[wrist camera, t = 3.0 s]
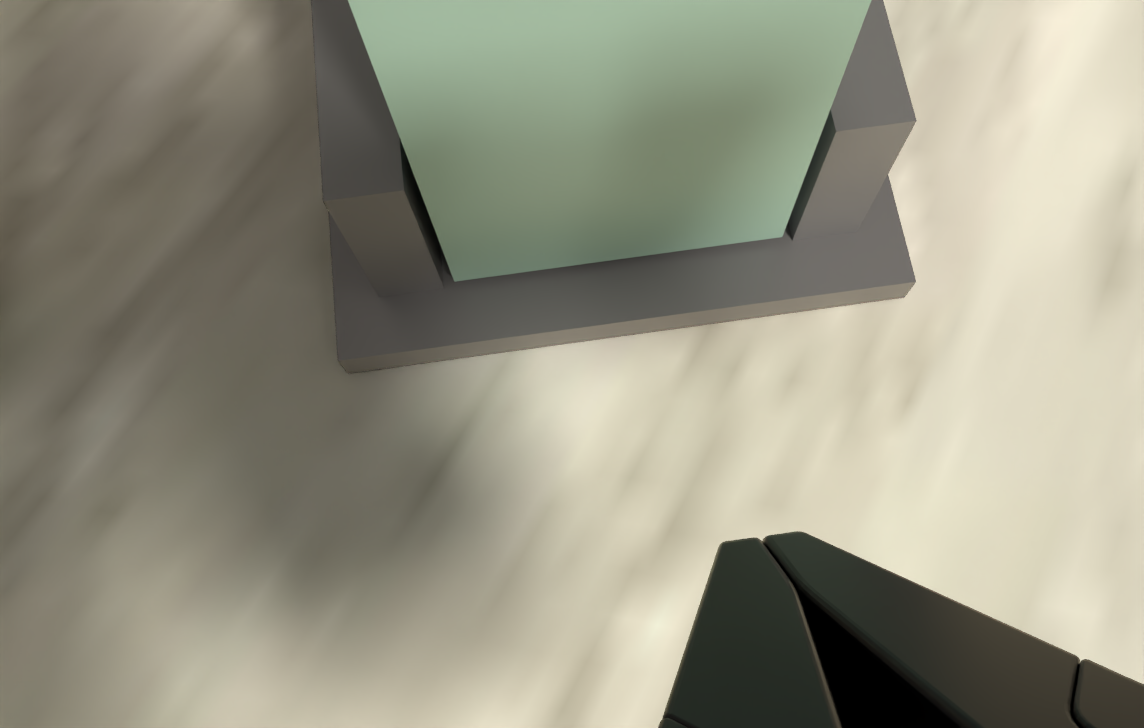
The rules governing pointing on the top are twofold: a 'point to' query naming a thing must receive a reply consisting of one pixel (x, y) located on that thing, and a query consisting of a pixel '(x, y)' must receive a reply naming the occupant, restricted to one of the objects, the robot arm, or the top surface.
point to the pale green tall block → (606, 120)
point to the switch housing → (610, 288)
